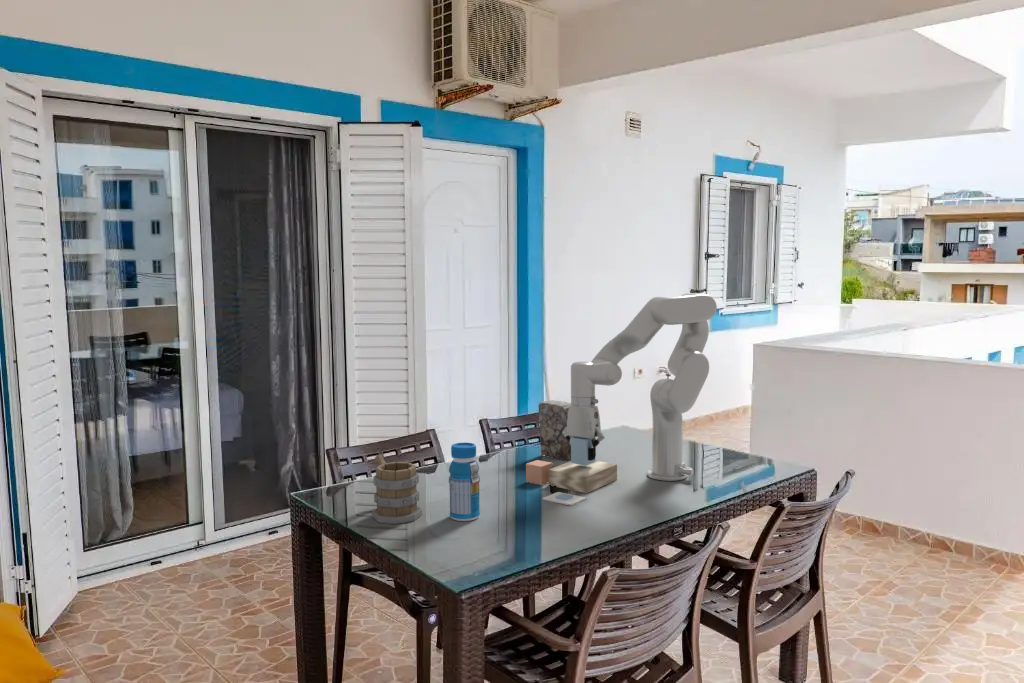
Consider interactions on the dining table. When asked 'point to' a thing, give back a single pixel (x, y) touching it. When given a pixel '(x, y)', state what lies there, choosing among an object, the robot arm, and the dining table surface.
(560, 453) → the stone block
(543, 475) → the terracotta cube
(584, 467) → the ash base block
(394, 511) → the tankard
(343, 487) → the dining table surface
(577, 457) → the blue block
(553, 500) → the card
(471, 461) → the beverage bottle
